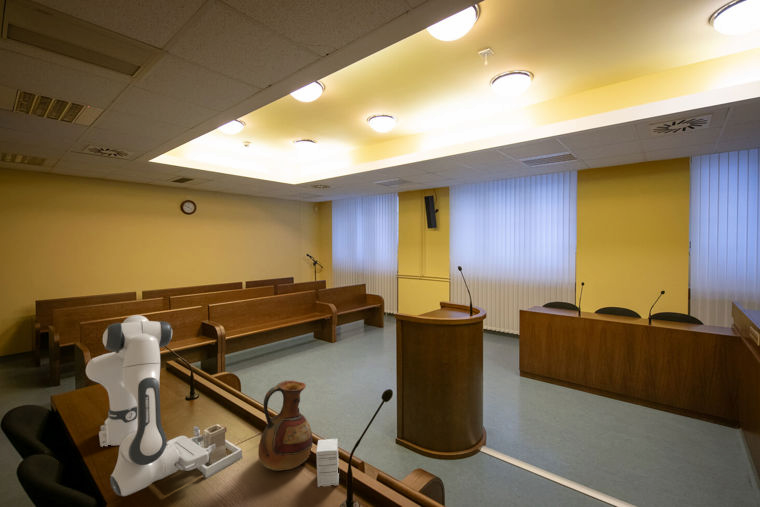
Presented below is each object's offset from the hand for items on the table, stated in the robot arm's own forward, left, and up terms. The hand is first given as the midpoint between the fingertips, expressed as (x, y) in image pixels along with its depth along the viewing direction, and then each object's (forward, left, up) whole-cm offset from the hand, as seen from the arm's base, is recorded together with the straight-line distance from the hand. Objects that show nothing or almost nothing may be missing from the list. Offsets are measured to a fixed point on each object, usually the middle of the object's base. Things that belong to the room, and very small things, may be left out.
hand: (208, 441), depth 130 cm
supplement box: (+44, +20, -9) cm, 49 cm away
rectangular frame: (0, +2, -9) cm, 9 cm away
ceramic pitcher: (+23, +18, -9) cm, 31 cm away
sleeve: (0, +2, -8) cm, 9 cm away
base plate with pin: (-15, +2, -9) cm, 18 cm away
